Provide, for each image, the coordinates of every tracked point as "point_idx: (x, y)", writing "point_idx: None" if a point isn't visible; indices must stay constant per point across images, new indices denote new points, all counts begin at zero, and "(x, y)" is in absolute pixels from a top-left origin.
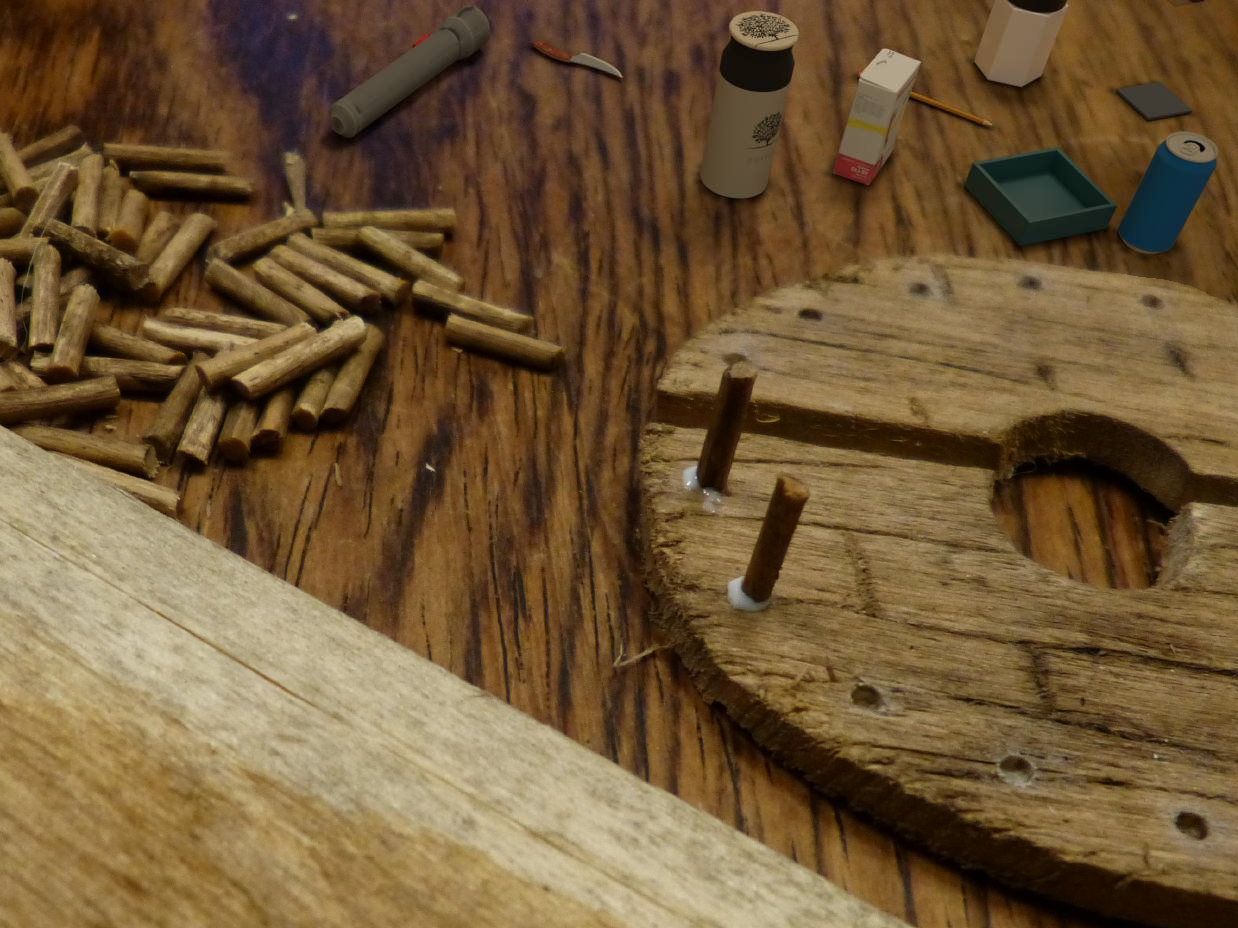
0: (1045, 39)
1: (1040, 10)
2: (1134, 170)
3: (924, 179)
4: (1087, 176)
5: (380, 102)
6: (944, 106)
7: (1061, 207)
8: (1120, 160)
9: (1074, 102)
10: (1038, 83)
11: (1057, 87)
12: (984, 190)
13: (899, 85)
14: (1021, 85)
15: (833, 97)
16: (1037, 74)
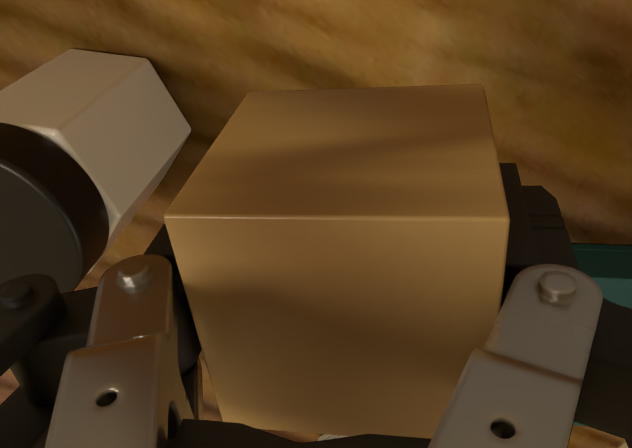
0: (134, 153)
1: (106, 239)
2: (570, 57)
3: None
4: (615, 281)
5: None
6: None
7: (619, 301)
8: (519, 67)
9: (260, 34)
10: (174, 76)
11: (192, 39)
12: None
13: None
14: (190, 131)
15: (203, 409)
16: (157, 84)
